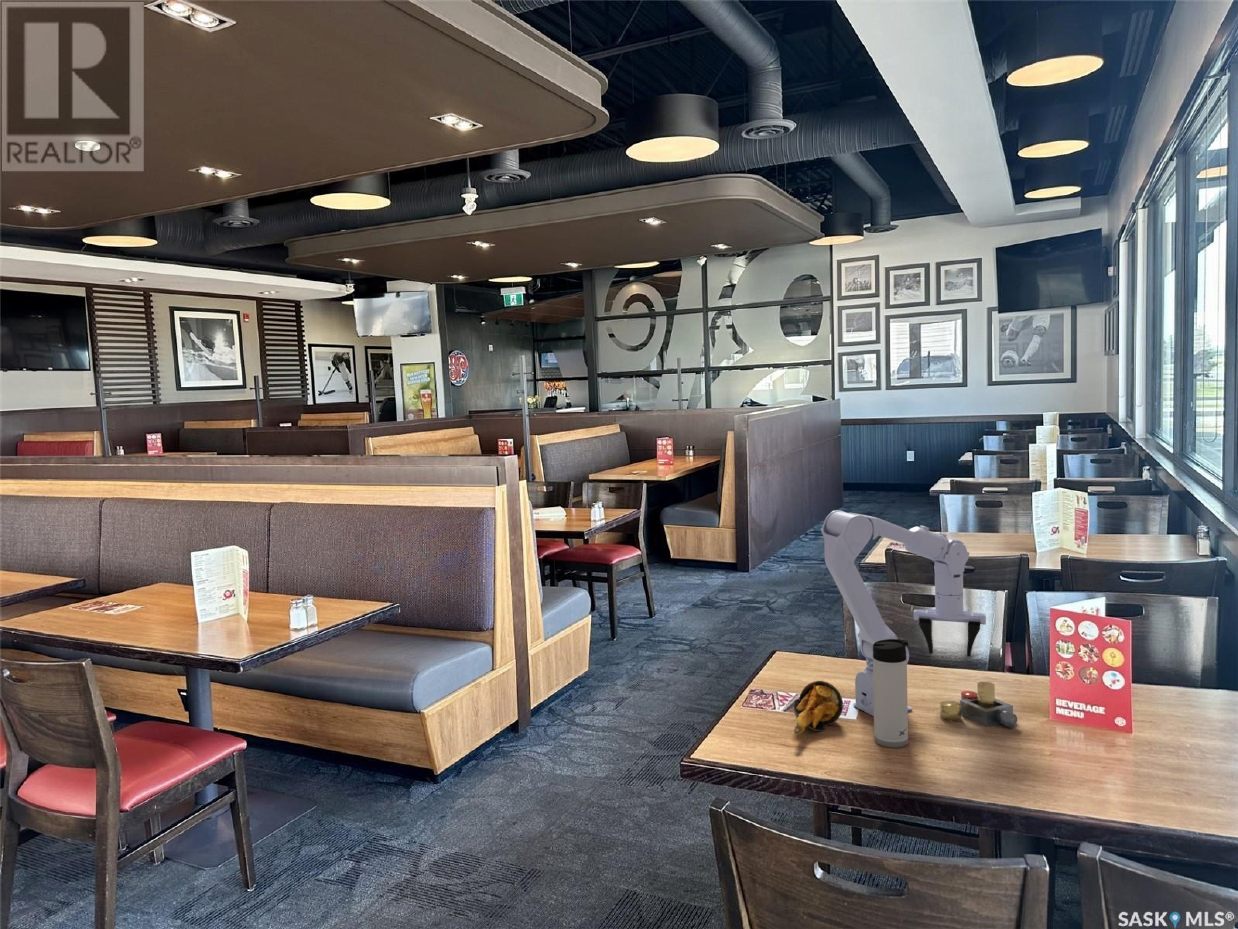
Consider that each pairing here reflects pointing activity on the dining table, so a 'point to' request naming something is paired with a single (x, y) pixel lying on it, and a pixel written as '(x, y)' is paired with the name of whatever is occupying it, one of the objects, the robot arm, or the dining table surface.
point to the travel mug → (890, 693)
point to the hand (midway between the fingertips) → (949, 653)
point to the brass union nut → (950, 711)
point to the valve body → (987, 711)
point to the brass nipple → (986, 694)
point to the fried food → (817, 707)
